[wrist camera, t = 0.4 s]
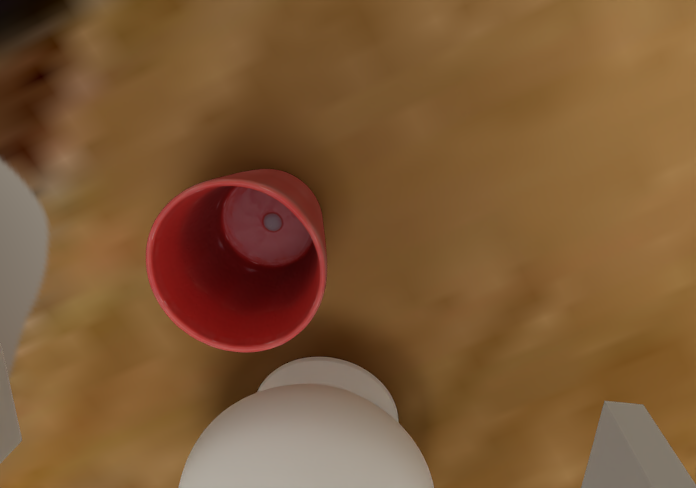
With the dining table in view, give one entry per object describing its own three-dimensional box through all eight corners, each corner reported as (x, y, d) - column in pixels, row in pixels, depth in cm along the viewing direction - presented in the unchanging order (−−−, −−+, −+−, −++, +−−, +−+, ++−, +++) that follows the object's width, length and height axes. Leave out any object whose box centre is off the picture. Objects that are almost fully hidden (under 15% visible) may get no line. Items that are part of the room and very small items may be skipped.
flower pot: (373, 200, 38) (364, 249, 29) (295, 309, 42) (265, 383, 33) (247, 116, 37) (196, 140, 28) (178, 237, 41) (114, 293, 32)
